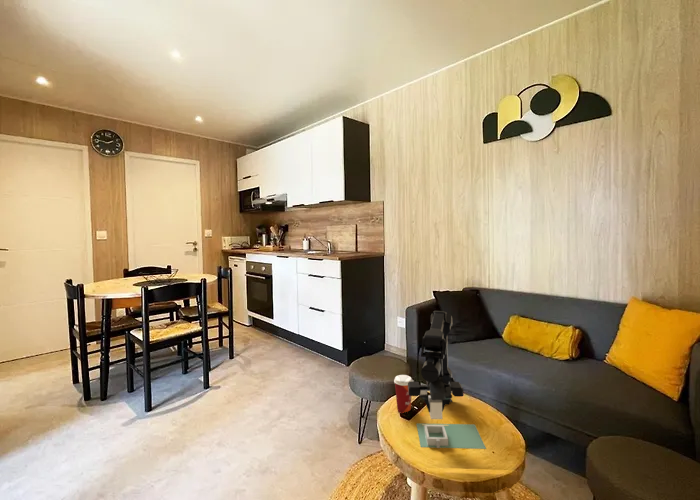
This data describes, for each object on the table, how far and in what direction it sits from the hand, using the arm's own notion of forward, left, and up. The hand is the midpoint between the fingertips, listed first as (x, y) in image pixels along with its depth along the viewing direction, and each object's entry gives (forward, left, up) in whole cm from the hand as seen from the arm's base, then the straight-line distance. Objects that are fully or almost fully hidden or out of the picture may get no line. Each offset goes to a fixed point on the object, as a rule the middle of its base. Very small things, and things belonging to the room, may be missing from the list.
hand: (435, 411), depth 119 cm
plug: (0, 0, -1) cm, 1 cm away
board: (-2, +5, -11) cm, 12 cm away
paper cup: (-20, -10, -11) cm, 25 cm away
